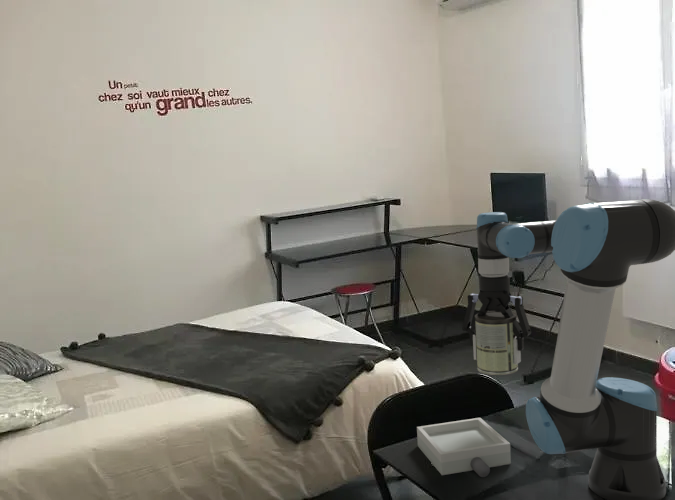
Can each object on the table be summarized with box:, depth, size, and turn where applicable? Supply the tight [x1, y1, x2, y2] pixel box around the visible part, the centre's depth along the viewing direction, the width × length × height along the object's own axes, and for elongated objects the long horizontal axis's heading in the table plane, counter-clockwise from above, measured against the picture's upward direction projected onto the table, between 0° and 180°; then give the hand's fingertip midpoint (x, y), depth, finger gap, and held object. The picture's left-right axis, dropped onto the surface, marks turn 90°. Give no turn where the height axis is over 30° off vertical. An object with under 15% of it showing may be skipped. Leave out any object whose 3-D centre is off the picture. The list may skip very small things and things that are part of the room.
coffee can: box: [474, 311, 519, 376], centre depth 176 cm, size 10×10×14 cm
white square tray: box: [416, 417, 512, 478], centre depth 166 cm, size 21×17×5 cm
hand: (497, 360), depth 177 cm, fingers closed on coffee can, 10 cm apart
